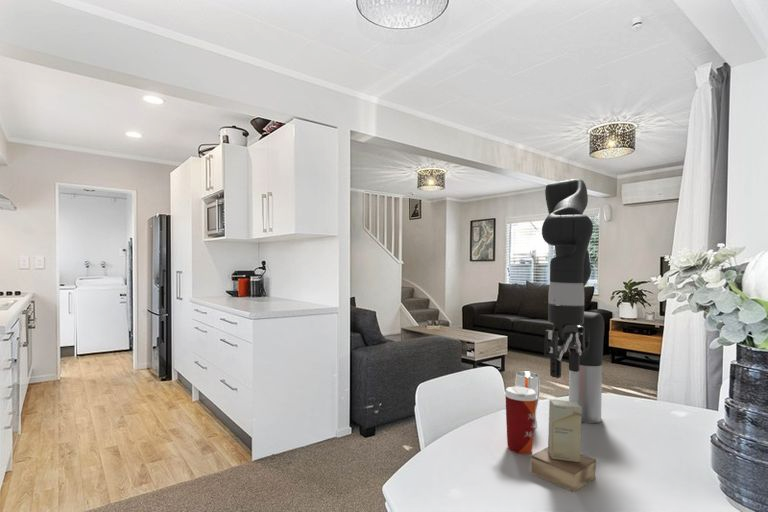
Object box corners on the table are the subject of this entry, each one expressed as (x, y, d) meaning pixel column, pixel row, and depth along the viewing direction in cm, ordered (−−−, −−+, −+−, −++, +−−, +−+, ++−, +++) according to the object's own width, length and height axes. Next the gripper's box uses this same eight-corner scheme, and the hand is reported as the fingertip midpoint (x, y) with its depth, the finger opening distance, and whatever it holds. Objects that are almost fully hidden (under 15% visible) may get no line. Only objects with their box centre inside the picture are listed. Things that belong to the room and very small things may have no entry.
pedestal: (553, 460, 103) (553, 444, 103) (595, 477, 95) (595, 459, 95) (530, 473, 97) (531, 455, 97) (574, 491, 89) (574, 472, 89)
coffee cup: (538, 457, 104) (540, 396, 105) (504, 453, 106) (505, 393, 106) (534, 443, 113) (535, 387, 113) (501, 440, 114) (503, 384, 115)
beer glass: (510, 424, 126) (511, 373, 126) (520, 418, 131) (521, 369, 131) (532, 431, 121) (533, 378, 122) (542, 424, 126) (543, 374, 127)
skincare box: (551, 459, 95) (552, 404, 95) (547, 451, 99) (548, 398, 99) (581, 462, 94) (582, 407, 94) (576, 454, 98) (577, 400, 98)
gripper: (565, 299, 104) (564, 366, 104) (534, 302, 95) (533, 375, 95) (596, 302, 98) (595, 372, 98) (566, 305, 89) (565, 383, 89)
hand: (565, 374), depth 96 cm, fingers open, 8 cm apart
